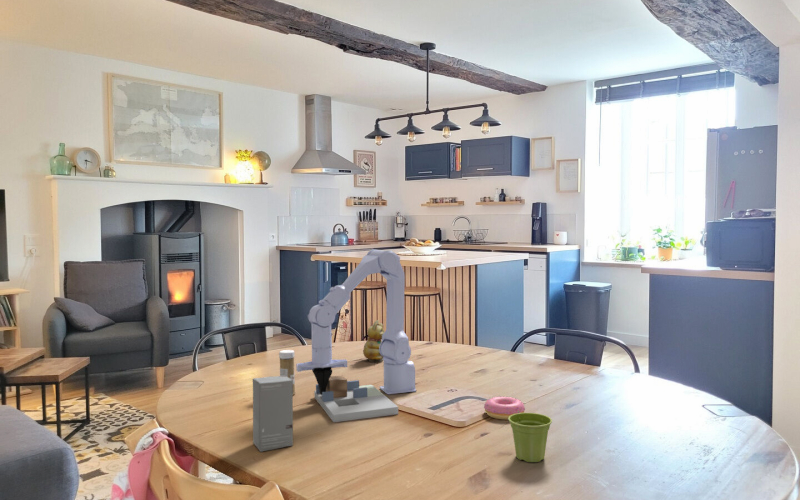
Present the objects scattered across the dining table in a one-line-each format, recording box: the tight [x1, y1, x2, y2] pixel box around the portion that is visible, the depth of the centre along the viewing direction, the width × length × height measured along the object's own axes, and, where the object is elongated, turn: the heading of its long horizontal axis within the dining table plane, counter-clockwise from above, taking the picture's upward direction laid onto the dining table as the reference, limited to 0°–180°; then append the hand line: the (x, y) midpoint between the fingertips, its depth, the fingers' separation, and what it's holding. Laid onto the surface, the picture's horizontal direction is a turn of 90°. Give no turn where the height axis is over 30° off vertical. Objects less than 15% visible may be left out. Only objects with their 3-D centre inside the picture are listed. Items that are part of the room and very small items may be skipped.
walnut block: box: [326, 375, 348, 398], centre depth 176 cm, size 5×5×5 cm
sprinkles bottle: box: [278, 349, 296, 396], centre depth 184 cm, size 5×5×13 cm
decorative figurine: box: [362, 319, 385, 363], centre depth 228 cm, size 10×8×15 cm
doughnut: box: [483, 395, 526, 421], centre depth 164 cm, size 11×11×4 cm
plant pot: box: [507, 412, 553, 463], centre depth 134 cm, size 9×9×9 cm
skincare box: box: [252, 375, 294, 453], centre depth 143 cm, size 8×7×16 cm
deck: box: [313, 379, 399, 423], centre depth 173 cm, size 18×24×4 cm
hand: (322, 393), depth 175 cm, fingers closed
